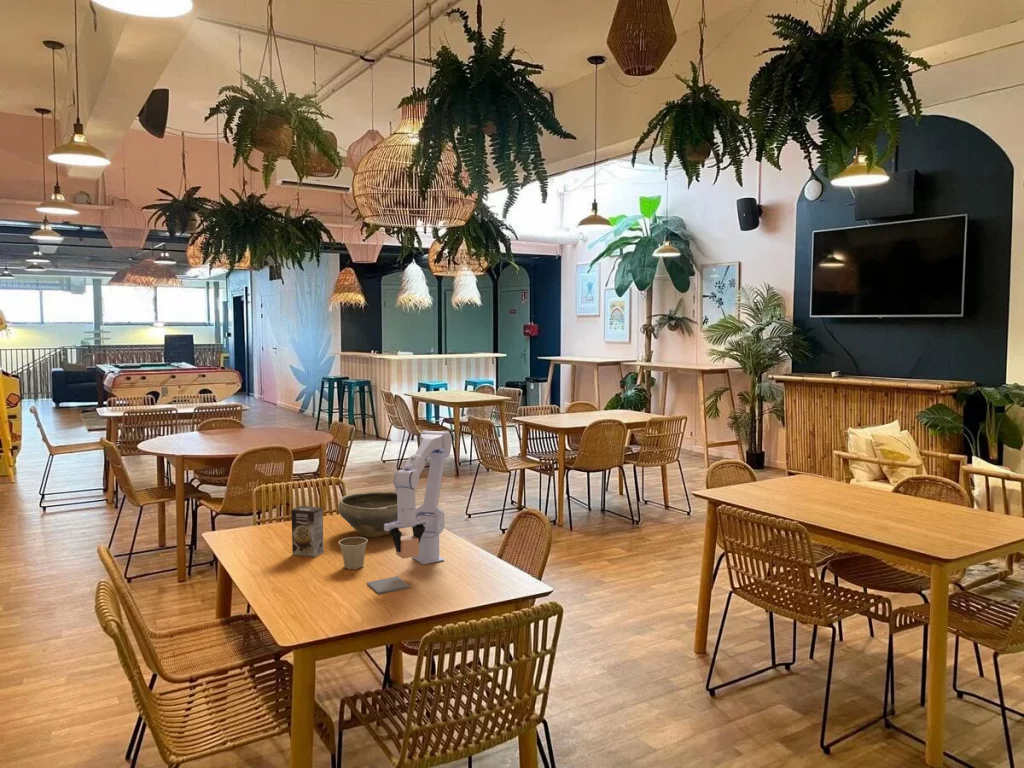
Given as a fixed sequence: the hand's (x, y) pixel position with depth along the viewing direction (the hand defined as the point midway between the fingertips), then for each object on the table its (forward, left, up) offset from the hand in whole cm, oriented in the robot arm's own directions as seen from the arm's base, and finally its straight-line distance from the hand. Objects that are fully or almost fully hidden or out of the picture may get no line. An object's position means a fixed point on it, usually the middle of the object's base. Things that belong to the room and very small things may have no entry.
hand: (407, 549), depth 232 cm
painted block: (0, 0, -2) cm, 2 cm away
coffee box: (-40, -21, -9) cm, 46 cm away
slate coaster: (+5, -9, -9) cm, 13 cm away
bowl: (-51, +8, -9) cm, 52 cm away
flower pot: (-18, -12, -9) cm, 23 cm away
